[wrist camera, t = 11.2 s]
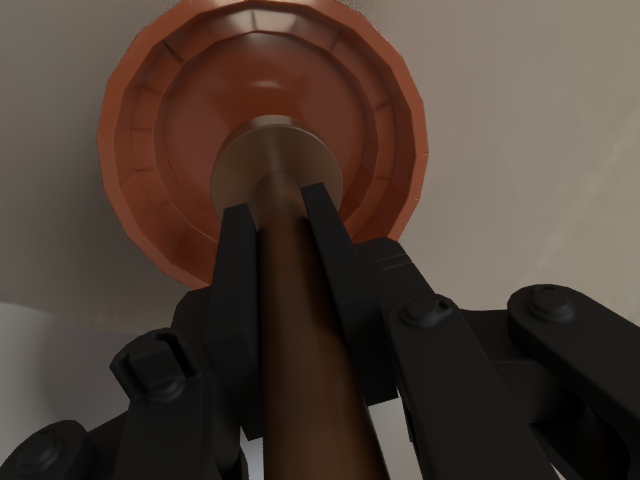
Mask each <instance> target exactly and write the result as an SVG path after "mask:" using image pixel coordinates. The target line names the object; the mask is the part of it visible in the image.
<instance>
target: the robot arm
mask: <svg viewBox="0 0 640 480" xmlns="http://www.w3.org/2000/svg"><path fill="white" fill-rule="evenodd" d="M300 189H301V193H302V197H303V200H304V204H305V208H306V211H307V215H308V219H309V222H310V225H311V229H312V232H313V235H314V238H315V242H316V245H317V248H318V251H319V255H320V258H321V261H322V264H323V268H324V271H325V274H326V277H327V281H328V284H329V287H330V290H331V294H332V297H333V300H334V303H335V307H336V310H337V313H338V316H339V320H340V323H341V326H342V329H343V333H344V336H345V339H346V342H347V346H348V349H349V352H350V354H351V356H352V358H353V361H354V364H355V367H356V370H357V374H358V377H359V380H360V383H361V386H362V390H363V393H364V396H365V399H366V402H367V406H371V405H375V404H378V403H382V402H385V401H388V400H392V399H395V398H398V393H397V389H398V391H399V393H400V396H401V399H402V403H403V409H404V414H405V418H406V424H407V429H408V434H409V439H410V442H412V443H413V446H414V450H415V453H416V456H417V460H418V463H419V467H420V471H421V474H422V477H423V480H560V478H559V477H558V475H557V473H556V472H555V470H554V468H553V466H554V467H555V468H556V469H557V470H558V471H559V472H560V474H561V475H562V476H563V477H564V478H565V479H566V480H640V327H638V326H636V325H635V324H633V323H631V322H630V321H628V320H626V319H625V318H623V317H621V316H620V315H618V314H616V313H615V312H613V311H611V310H610V309H608V308H606V307H605V306H603V305H601V304H599V303H598V302H596V301H594V300H593V299H591V298H589V297H588V296H586V295H584V294H583V293H580V292H578V291H576V290H573V289H571V288H569V287H564V286H559V285H553V284H536V285H532V286H528V287H524V288H521V289H519V290H518V291H516V292H515V293H513V294H512V295H511V297H510V298H509V300H508V302H507V309H506V310H486V311H471V310H464V309H459V308H458V306H457V305H456V304H455V303H454V302H453V301H452V300H451V299H449V298H447V297H444V296H442V295H440V294H435V293H434V291H433V290H432V288H431V287H430V286H429V284H428V283H427V281H426V280H425V279H424V277H423V276H422V274H421V273H420V272H419V270H418V269H417V268H416V266H415V265H414V263H412V261H411V259H410V258H409V256H408V255H406V252H405V251H404V249H403V248H402V247H401V245H400V244H399V242H397V241H395V240H393V239H391V238H388V237H386V236H382V237H378V238H375V239H371V240H368V241H364V242H360V243H357V244H353V242H352V240H351V238H350V236H349V234H348V232H347V230H346V228H345V226H344V224H343V222H342V220H341V218H340V216H339V214H338V212H337V210H336V208H335V206H334V203H333V201H332V199H331V197H330V195H329V193H328V191H327V189H326V187H325V185H324V183H323V182H320V183H316V184H312V185H309V186H305V187H301V188H300ZM109 368H110V369H111V371H112V372H113V374H114V376H115V377H116V379H117V380H118V382H119V383H120V385H121V386H122V388H123V390H124V391H125V393H126V394H127V396H128V397H129V399H130V404H129V408H128V410H127V411H126V412H124V413H122V414H121V415H119V416H117V417H116V418H114V419H112V420H110V421H108V422H106V423H104V424H102V425H101V426H99V427H97V428H95V429H93V430H91V431H89V432H86V430H85V429H84V427H83V426H82V425H81V424H79V423H78V422H77V421H75V420H63V421H59V422H56V423H53V424H50V425H48V426H46V427H45V428H43V429H41V430H39V431H37V432H35V433H34V434H32V435H31V436H30V437H29V438H27V439H26V440H25V441H24V442H23V443H21V444H20V445H19V446H18V447H17V448H16V449H15V450H14V451H13V452H12V454H11V455H10V456H9V457H8V458H7V459H6V460H5V462H4V463H3V464H2V466H1V467H0V480H249V474H248V464H247V461H246V458H245V454H244V452H243V451H242V448H241V446H240V425H241V427H242V429H243V431H244V433H245V436H246V438H247V439H248V441H251V440H254V439H257V438H261V437H263V424H262V385H261V346H260V307H259V267H258V233H257V230H256V227H255V224H254V221H253V218H252V215H251V212H250V209H249V206H248V203H243V204H239V205H236V206H232V207H228V208H225V209H224V213H223V219H222V225H221V231H220V237H219V242H218V248H217V254H216V260H215V266H214V272H213V278H212V284H211V286H207V287H204V288H200V289H196V290H193V291H189V292H187V293H186V295H185V296H184V297H183V298H182V300H181V301H180V302H179V303H178V305H177V306H176V310H175V313H174V317H173V322H172V324H171V327H170V328H161V329H157V330H152V331H150V332H148V333H146V334H143V335H141V336H139V337H137V338H136V339H134V340H133V341H131V342H130V343H128V344H127V345H126V346H125V347H124V348H123V349H122V350H121V351H120V352H119V353H118V354H117V355H116V356H115V357H114V359H113V361H112V362H111V364H110V366H109ZM396 386H397V387H396ZM551 464H552V465H553V466H552V465H551Z"/></svg>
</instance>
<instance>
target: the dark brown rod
mask: <svg viewBox="0 0 640 480" xmlns="http://www.w3.org/2000/svg"><path fill="white" fill-rule="evenodd" d="M320 182H323V183H324V185H325V187H326V189H327V191H328V193H329V195H330V197H331V199H332V201H333V203H334V206H335V208H336V210H337V212H338V210H339V208H340V205H341V201H342V196H343V178H342V173H341V169H340V166H339V164H338V162H337V159H336V158H335V156H334V154H333V153H332V151H331V150H330V148H329V147H328V145H327V144H326V143H325V141H324V140H323V139H322V137H321V136H320V135H319V134H318V133H317V132H316V131H315V130H314V129H313V128H312V127H310V126H309V125H307V124H306V123H304V122H302V121H300V120H298V119H295V118H292V117H288V116H284V115H264V116H259V117H256V118H253V119H250V120H248V121H246V122H244V123H242V124H241V125H239V126H238V127H236V128H235V129H234V130H233V131H232V132H231V133H230V134H229V135H228V136H227V138H226V139H225V140H224V142H223V143H222V145H221V147H220V149H219V151H218V154H217V157H216V160H215V163H214V167H213V170H212V174H211V179H210V196H211V202H212V205H213V208H214V211H215V213H216V215H217V217H218V219H219V220H220V222H221V223H222V219H223V213H224V209H225V208H228V207H232V206H236V205H239V204H243V203H248V206H249V209H250V212H251V215H252V218H253V221H254V224H255V227H256V230H257V233H258V267H259V307H260V346H261V385H262V424H263V464H264V480H391V479H390V476H389V473H388V470H387V466H386V463H385V460H384V457H383V453H382V450H381V447H380V444H379V441H378V437H377V434H376V431H375V428H374V425H373V422H372V419H371V415H370V412H369V409H368V406H367V402H366V399H365V396H364V393H363V390H362V386H361V383H360V380H359V377H358V374H357V370H356V367H355V364H354V361H353V358H352V356H351V354H350V352H349V349H348V346H347V342H346V339H345V336H344V333H343V329H342V326H341V323H340V320H339V316H338V313H337V310H336V307H335V303H334V300H333V297H332V294H331V290H330V287H329V284H328V281H327V277H326V274H325V271H324V268H323V264H322V261H321V258H320V255H319V251H318V248H317V245H316V242H315V238H314V235H313V232H312V229H311V225H310V222H309V219H308V215H307V211H306V208H305V204H304V200H303V197H302V193H301V189H300V188H301V187H305V186H309V185H312V184H316V183H320Z"/></svg>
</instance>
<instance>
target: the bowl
mask: <svg viewBox="0 0 640 480" xmlns="http://www.w3.org/2000/svg"><path fill="white" fill-rule="evenodd" d="M264 115H284V116H288V117H292V118H295V119H298V120H300V121H302V122H304V123H306V124H307V125H309V126H310V127H312V128H313V129H314V130H315V131H316V132H317V133H318V134H319V135H320V136H321V137H322V139H323V140H324V141H325V143H326V144H327V145H328V147H329V148H330V150H331V151H332V153H333V154H334V156H335V158H336V159H337V162H338V164H339V166H340V169H341V173H342V178H343V196H342V201H341V205H340V208H339V210H338V214H339V216H340V218H341V220H342V222H343V224H344V226H345V228H346V230H347V232H348V234H349V236H350V238H351V240H352V242H353V244H357V243H360V242H364V241H368V240H371V239H375V238H378V237H382V236H386V237H388V238H391V239H393V240H395V241H398V239H399V238H400V236H401V234H402V232H403V230H404V228H405V227H406V225H407V223H408V221H409V219H410V217H411V215H412V213H413V211H414V210H415V208H416V206H417V204H418V202H419V199H420V196H421V191H422V186H423V181H424V176H425V171H426V166H427V161H428V153H429V150H428V141H427V131H426V122H425V113H424V105H423V101H422V99H421V97H420V95H419V92H418V90H417V88H416V86H415V83H414V81H413V79H412V77H411V75H410V72H409V70H408V68H407V66H406V64H405V61H404V59H403V57H402V56H401V54H400V53H399V52H398V51H397V50H396V49H395V48H394V47H393V46H392V45H391V44H390V42H389V41H388V40H387V39H386V38H385V37H384V36H383V35H382V34H381V33H380V32H379V31H378V30H377V29H376V28H375V27H374V25H373V24H372V23H371V22H370V21H369V20H368V19H367V18H366V17H365V16H364V15H362V14H361V13H359V12H357V11H355V10H353V9H351V8H349V7H347V6H345V5H343V4H341V3H339V2H338V1H336V0H182V1H180V2H179V3H178V4H176V5H175V6H174V7H172V8H171V9H169V10H168V11H167V12H165V13H164V14H163V15H161V16H160V17H158V18H157V19H156V20H154V21H153V22H152V23H150V24H149V25H147V26H146V27H145V28H143V29H142V30H141V31H140V32H139V33H138V34H137V36H136V37H135V39H134V40H133V42H132V43H131V45H130V47H129V48H128V50H127V51H126V53H125V54H124V56H123V58H122V59H121V61H120V62H119V64H118V65H117V67H116V69H115V70H114V72H113V73H112V75H111V76H110V78H109V80H108V83H107V86H106V91H105V96H104V100H103V105H102V110H101V115H100V120H99V125H98V130H97V135H96V136H97V137H96V141H97V147H98V154H99V161H100V167H101V174H102V181H103V187H104V190H105V193H106V195H107V197H108V199H109V201H110V203H111V205H112V207H113V209H114V211H115V213H116V215H117V217H118V219H119V221H120V223H121V225H122V227H123V229H124V231H125V233H126V235H127V236H128V237H129V238H130V239H131V240H132V241H133V242H134V243H135V244H136V245H137V246H138V247H139V248H140V249H141V250H142V251H143V252H144V254H145V255H146V256H147V257H148V258H149V259H150V260H151V261H152V262H153V263H154V264H155V265H156V266H157V267H158V268H159V269H160V270H161V271H162V272H164V273H165V274H167V275H169V276H171V277H172V278H174V279H176V280H178V281H179V282H181V283H183V284H185V285H187V286H188V287H190V288H192V289H194V290H196V289H200V288H204V287H207V286H211V284H212V278H213V272H214V266H215V260H216V254H217V248H218V242H219V237H220V231H221V225H222V223H221V222H220V220H219V219H218V217H217V215H216V213H215V211H214V208H213V205H212V202H211V196H210V179H211V174H212V170H213V167H214V163H215V160H216V157H217V154H218V151H219V149H220V147H221V145H222V143H223V142H224V140H225V139H226V138H227V136H228V135H229V134H230V133H231V132H232V131H233V130H234V129H235V128H236V127H238V126H239V125H241V124H242V123H244V122H246V121H248V120H250V119H253V118H256V117H259V116H264Z"/></svg>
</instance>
